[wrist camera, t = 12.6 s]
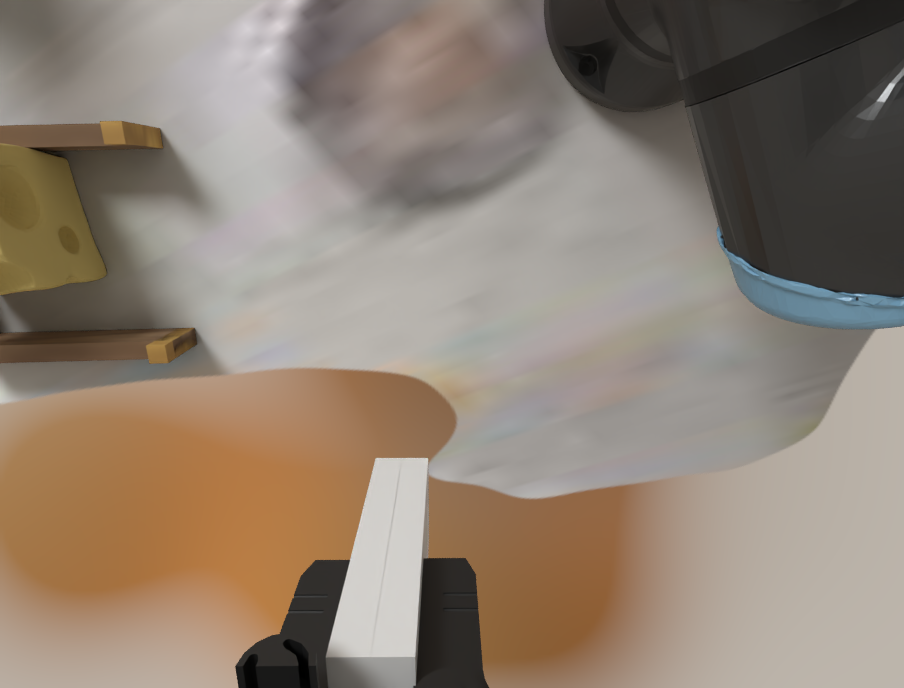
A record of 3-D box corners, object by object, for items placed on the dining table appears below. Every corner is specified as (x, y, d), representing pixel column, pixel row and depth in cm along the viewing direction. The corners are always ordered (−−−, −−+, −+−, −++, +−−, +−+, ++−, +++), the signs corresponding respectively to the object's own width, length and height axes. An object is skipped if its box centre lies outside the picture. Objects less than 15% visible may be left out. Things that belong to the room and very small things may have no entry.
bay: (-88, 133, 41) (-160, 126, 36) (159, 128, 42) (121, 121, 37) (-22, 349, 47) (-77, 369, 42) (197, 344, 47) (168, 363, 42)
